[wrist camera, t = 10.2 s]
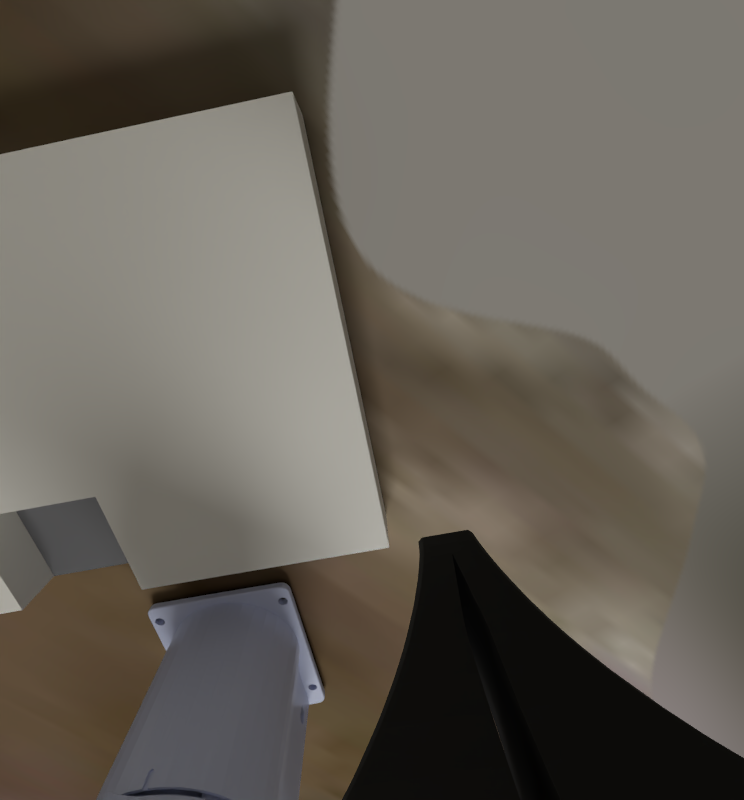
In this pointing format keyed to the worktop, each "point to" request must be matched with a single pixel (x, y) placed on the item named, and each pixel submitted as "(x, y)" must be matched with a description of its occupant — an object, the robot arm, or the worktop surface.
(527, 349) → the worktop surface
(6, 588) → the trap deck
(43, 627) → the worktop surface
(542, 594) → the worktop surface
